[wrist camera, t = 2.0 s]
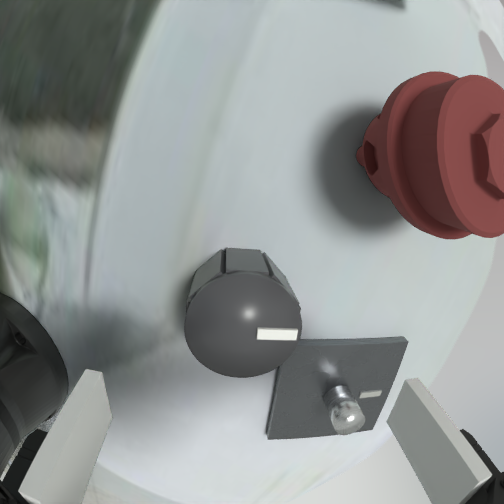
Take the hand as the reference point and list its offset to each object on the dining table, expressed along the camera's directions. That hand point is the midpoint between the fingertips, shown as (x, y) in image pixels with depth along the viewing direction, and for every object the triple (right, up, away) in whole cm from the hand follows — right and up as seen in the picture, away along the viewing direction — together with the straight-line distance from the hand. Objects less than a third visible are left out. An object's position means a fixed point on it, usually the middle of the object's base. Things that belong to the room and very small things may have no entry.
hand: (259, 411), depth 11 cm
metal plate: (+8, -7, +16) cm, 19 cm away
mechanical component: (+11, +14, +10) cm, 21 cm away
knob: (-1, +3, +12) cm, 13 cm away
